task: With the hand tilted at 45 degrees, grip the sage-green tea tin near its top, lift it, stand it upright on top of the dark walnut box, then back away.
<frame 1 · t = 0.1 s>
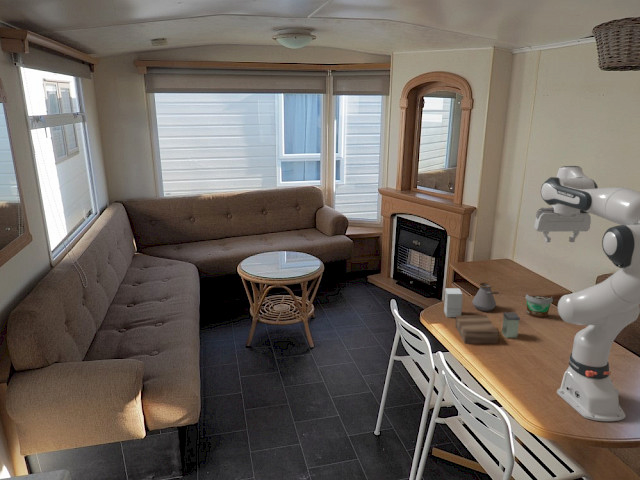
hand: (559, 241, 184), 48 cm above the table, tool pointing down, fingers open, 8 cm apart
sage tea tin: (509, 335, 210), on the table
supplement box: (452, 314, 232), on the table
food container: (537, 316, 228), on the table
walnut box: (475, 335, 212), on the table
coffee pot: (487, 312, 234), on the table
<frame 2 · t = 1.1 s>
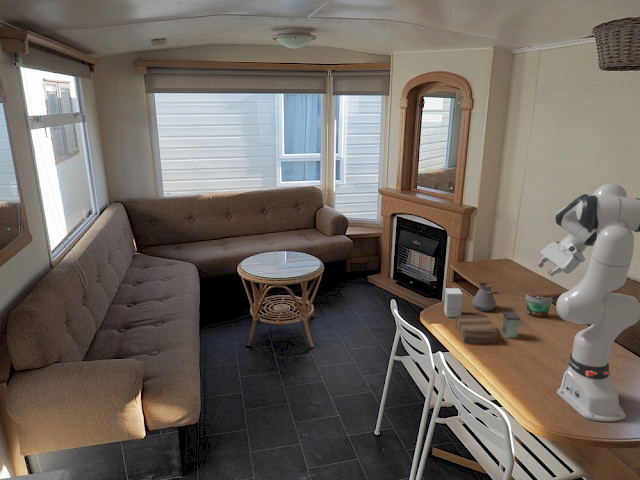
hand: (544, 270, 201), 31 cm above the table, tool tilted 45°, fingers open, 8 cm apart
nothing on the table moved.
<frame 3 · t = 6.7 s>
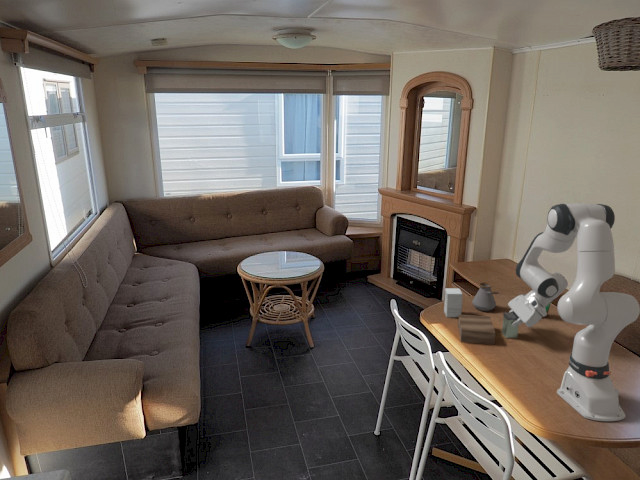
hand: (509, 322, 209), 6 cm above the table, tool tilted 45°, fingers closed on sage tea tin, 5 cm apart
sage tea tin: (509, 335, 210), on the table, touching gripper
when the fingers open (14 cm above the table, at t = 14.4 s): sage tea tin drops 2 cm, resting on walnut box.
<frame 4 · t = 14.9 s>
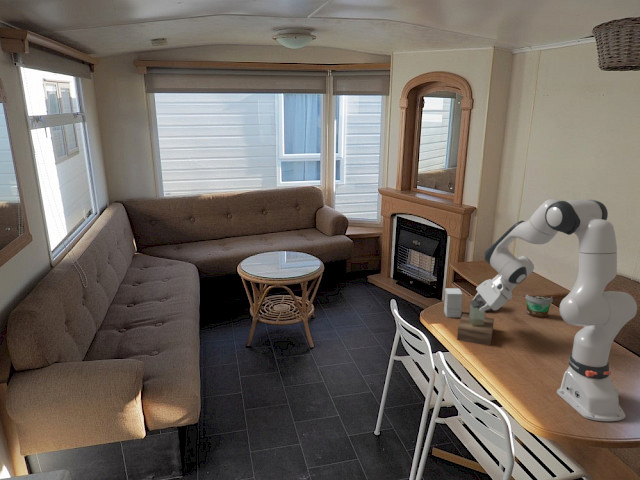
hand: (476, 306, 208), 14 cm above the table, tool tilted 45°, fingers open, 8 cm apart
sage tea tin: (476, 323, 210), point 6 cm above the table, touching walnut box
walnut box: (475, 335, 212), on the table, touching sage tea tin
everything else where it was.
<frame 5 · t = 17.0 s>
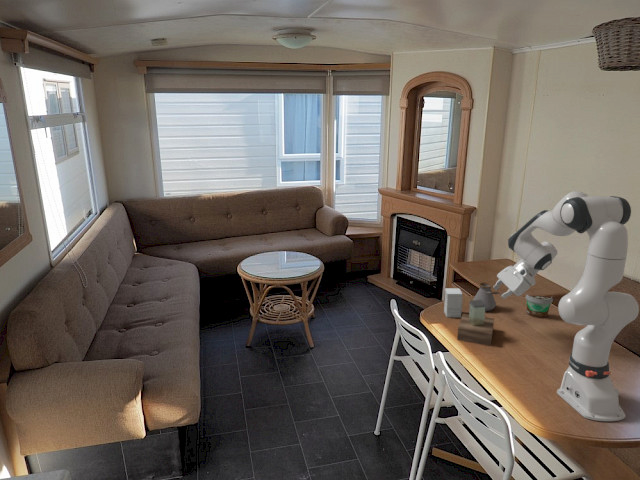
hand: (498, 293, 206), 20 cm above the table, tool tilted 45°, fingers open, 8 cm apart
nothing on the table moved.
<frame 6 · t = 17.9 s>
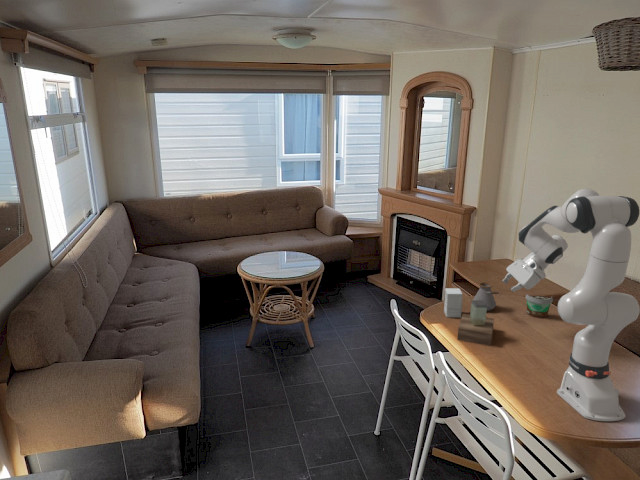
hand: (507, 286, 205), 23 cm above the table, tool tilted 45°, fingers open, 8 cm apart
sage tea tin: (477, 323, 210), point 6 cm above the table
walnut box: (475, 335, 212), on the table
everything else where it was.
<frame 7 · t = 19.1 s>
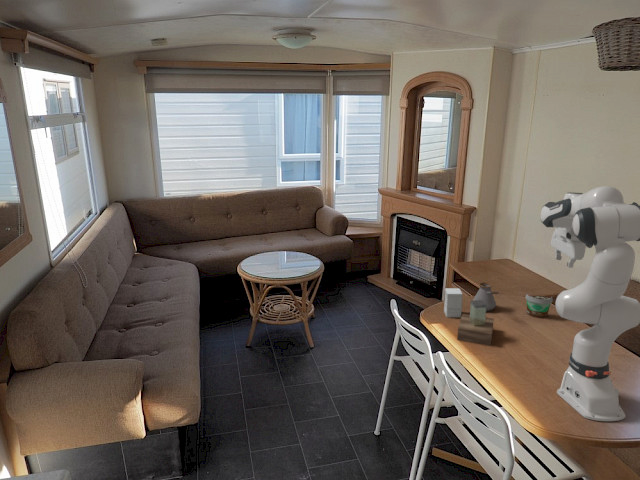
hand: (563, 263, 195), 36 cm above the table, tool pointing down, fingers open, 8 cm apart
sage tea tin: (476, 323, 210), point 6 cm above the table, touching walnut box
walnut box: (475, 335, 212), on the table, touching sage tea tin
everything else where it was.
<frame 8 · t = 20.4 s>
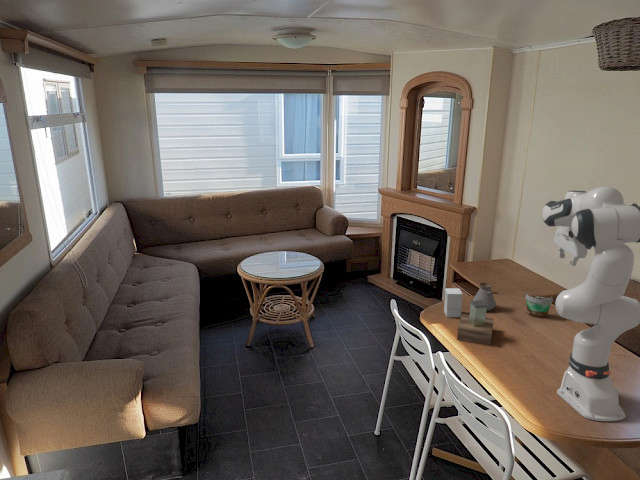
hand: (567, 261, 194), 37 cm above the table, tool pointing down, fingers open, 8 cm apart
nothing on the table moved.
at the end: sage tea tin inside the target area on the walnut box (0.2 cm from its centre), point 6.0 cm above the walnut box's base; sage tea tin tilted 0°; the gripper is holding nothing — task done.
